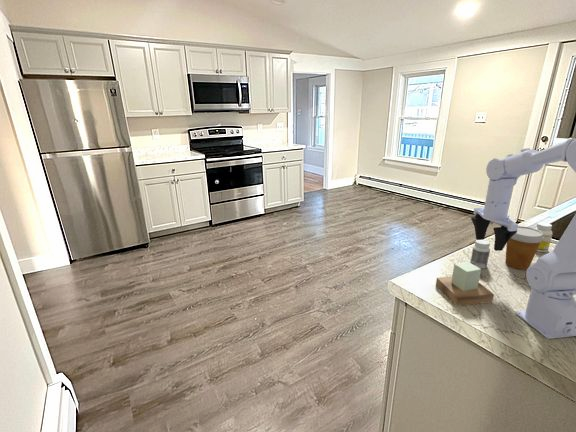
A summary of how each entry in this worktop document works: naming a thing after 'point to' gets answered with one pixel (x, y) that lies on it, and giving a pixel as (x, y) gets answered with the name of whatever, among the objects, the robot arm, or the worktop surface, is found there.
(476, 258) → the pill bottle
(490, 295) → the walnut base
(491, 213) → the robot arm
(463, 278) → the sage block
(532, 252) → the disposable coffee cup
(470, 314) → the worktop surface
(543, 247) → the supplement bottle
